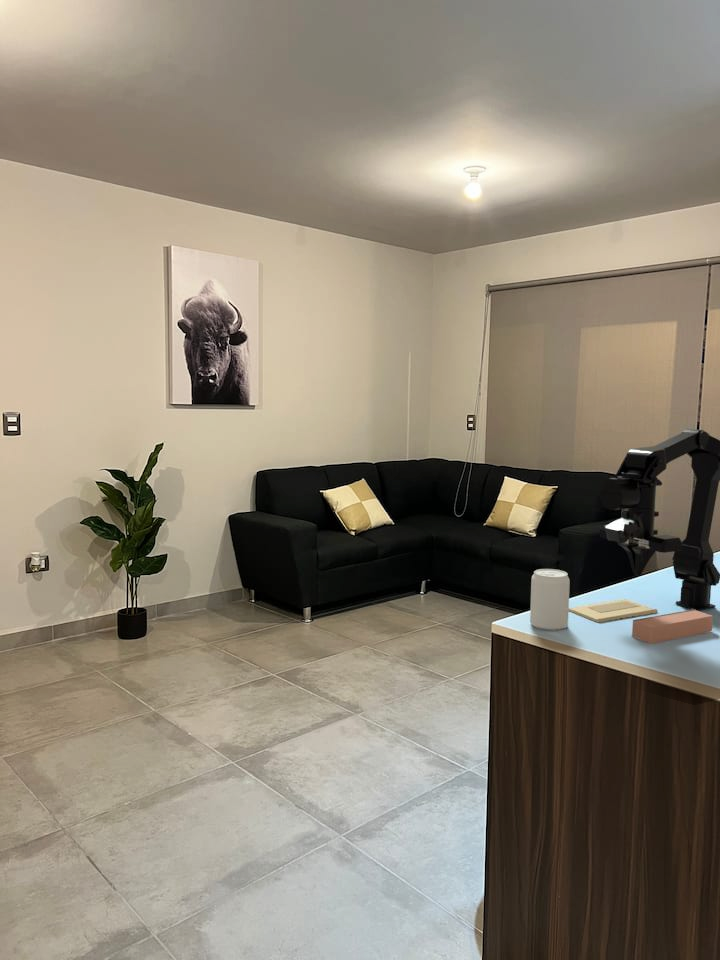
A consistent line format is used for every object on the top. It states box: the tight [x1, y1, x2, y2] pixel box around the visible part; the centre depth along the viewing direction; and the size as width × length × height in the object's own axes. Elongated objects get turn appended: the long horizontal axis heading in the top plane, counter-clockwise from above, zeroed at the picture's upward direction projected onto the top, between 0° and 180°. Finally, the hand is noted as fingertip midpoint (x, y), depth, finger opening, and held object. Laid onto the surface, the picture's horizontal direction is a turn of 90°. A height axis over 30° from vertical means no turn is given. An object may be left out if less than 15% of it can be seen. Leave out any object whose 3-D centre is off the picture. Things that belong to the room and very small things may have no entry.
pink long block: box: [631, 609, 714, 645], centre depth 157 cm, size 18×5×4 cm, turn 115°
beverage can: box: [529, 568, 571, 631], centre depth 161 cm, size 8×8×12 cm
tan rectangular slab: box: [568, 598, 658, 623], centre depth 172 cm, size 18×10×1 cm, turn 115°
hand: (637, 575), depth 164 cm, fingers closed
